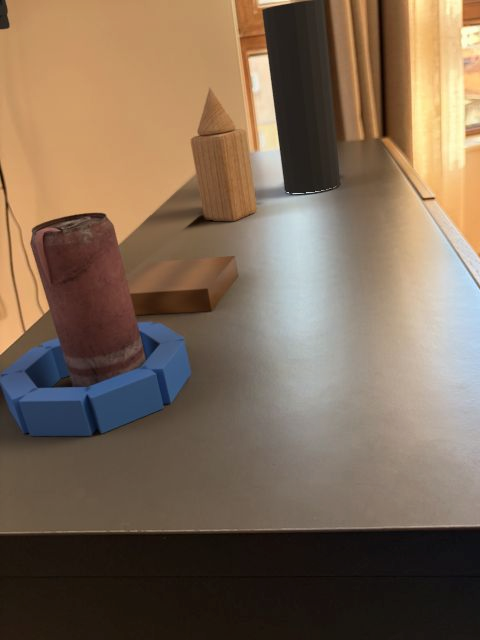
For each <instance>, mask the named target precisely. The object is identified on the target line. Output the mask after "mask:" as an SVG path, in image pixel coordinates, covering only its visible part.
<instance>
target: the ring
mask: <svg viewBox="0 0 480 640" xmlns="http://www.w3.org/2000/svg"><path fill="white" fill-rule="evenodd" d="M137 324H138V328H139V332H140V336H141V341H142V345H143V349H144V353H145V357H146V361H145V363H144V364H143V365H142V366H141V367H140V368H137V369H135V370H132V371H129V372H127V373H124V374H121V375H119V376H116V377H113V378H110V379H108V380H105V381H102V382H100V383H97V384H94V385H92V386H89V387H73V386H69V387H67V386H66V387H65V386H63V387H54V386H55V385H56V384H57V383H58V382H59V381H61V380H62V379H64V378H67V377H70V375H69V372H68V369H67V365H66V362H65V359H64V355H63V352H62V349H61V345H60V342H59V339H58V337H57V338H53V339H50V340H48V341H44V342H41V343H40V346H33V347H32V348H31V349H29V350H28V351H27V352H26V353H24V354H23V355H21V357H19V358H18V359H17V360H16V361H14V362H12V363H11V364H10V365H9V366H8V367H6V368H5V369H4V370H2V372H1V373H0V388H1V391H2V393H3V397H4V399H5V401H6V405H7V407H8V411H9V412H10V413H11V415H12V417H13V419H14V420H15V422H16V423H17V425H18V426H19V429H20V431H21V432H22V433H23V435H25V434H28V433H29V434H28V435H29V436H30V437H91V436H92V435H93V434H94V433H95V432H96V431H98V432H99V433H100V434H105V433H107V432H110V431H113V430H115V429H117V428H121V427H122V426H124V425H127V424H129V423H132V422H135V421H138V420H140V419H141V418H144V417H147V416H149V415H152V414H154V413H156V412H158V411H161V410H164V409H165V406H164V405H170V404H172V403H173V401H174V400H175V399H176V397H177V395H179V392H180V391H181V389H182V388H183V387H184V385H185V383H186V382H187V380H189V378H190V376H191V375H192V370H191V366H190V365H191V364H190V361H189V360H190V359H189V356H188V351H187V346H186V340H185V337H184V336H183V335H180V334H179V333H177V332H176V331H174V330H173V329H171V328H169V327H168V326H166V325H164V324H162V323H161V322H157V323H154V321H140V322H138V321H137Z"/></svg>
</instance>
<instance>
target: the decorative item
mask: <svg viewBox="0 0 480 640" xmlns="http://www.w3.org/2000/svg"><path fill="white" fill-rule="evenodd" d="M196 131H197V132H196V133H197V135H194V136H193V137H191V138H190V147H191V152H192V157H193V164H194V169H195V174H196V175H195V176H196V180H197V186H198V191H199V196H200V202H201V208H202V213H203V218H204V219H205V221H209V220H213V221H212V222H236V221H238V220H240V219H242V218H245V217H247V216H249V214H250V215H252V214H254V213H256V212H257V210H258V206H257V205H258V204H257V199H256V192H255V185H254V177H253V171H252V165H251V157H250V150H249V144H248V136H247V131H246V130H245V129H242V128H237V126H236V123H234V121H233V120H232V118H231V117H230V114H229V113H228V112H227V110H226V109H225V108H224V106H223V104H222V103H221V102H220V100H219V98H218V97H217V95H216V94H215V93H214V90H212V88H211V87H210V86H209V88H208V91H207V95H206V98H205V103H204V105H203V110H202V113H201V116H200V120H199V124H198V128H197V130H196Z"/></svg>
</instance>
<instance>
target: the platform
mask: <svg viewBox="0 0 480 640" xmlns="http://www.w3.org/2000/svg"><path fill="white" fill-rule="evenodd" d="M238 277H239V271H238V264H237V259H236V256H235V255H230V256H216V257H215V256H214V257H202V258H201V257H200V258H189V259H176V260H174V259H173V260H163V261H161V260H160V261H149V262H147V263H146V264H145V265H144V266H142V267H141V268H140V269H139V270H138V271H136V272H135V273H134V274H133V275H132V276H130V277H129V278H128V279H127V283H128V287H129V291H130V295H131V299H132V303H133V307H134V312H135V316H143V315H147V316H148V315H162V314H181V313H183V314H184V313H201V312H212V311H213V310H214V309H215V307H216V306H217V305H218V304H219V302H220V301H221V299H222V298H223V297H224V296H225V294H226V293H227V292H228V291H229V289H230V288H231V286H232V285H233V284H234V283H235V281H236V280H237V278H238Z"/></svg>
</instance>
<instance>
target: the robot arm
mask: <svg viewBox="0 0 480 640" xmlns="http://www.w3.org/2000/svg"><path fill="white" fill-rule="evenodd" d="M8 14H9V9H8V4H7V0H0V30H8V29H10V26H11V23H10V20H9V16H8Z"/></svg>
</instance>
